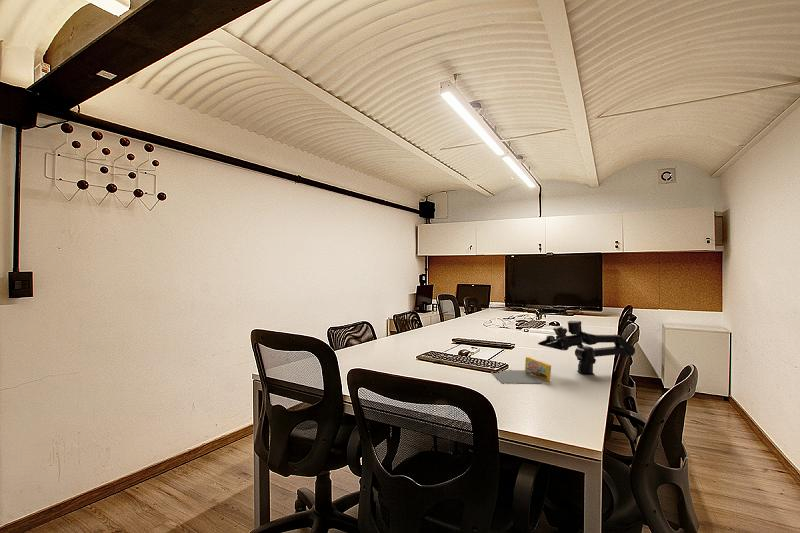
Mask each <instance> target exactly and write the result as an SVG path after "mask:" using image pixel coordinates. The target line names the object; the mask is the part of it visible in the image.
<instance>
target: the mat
mask: <svg viewBox="0 0 800 533" xmlns="http://www.w3.org/2000/svg"><path fill="white" fill-rule="evenodd" d="M502 370H503V371H500V372H499V373H493V372H490V373H491V374H492V375H493V376H494V377H495V379H496V380H497V381H498V380H499V381H500V382H501V383H513V385H519V384H522V385H526V384H529V385H531V384H532V385H534V384H535V385H541V384H542V381H540V380H538V379H537V377H536V376H534V375H531V374H529V373H527V372H525V369H521V370H519V369H502ZM499 381H498V382H499ZM500 382H499V383H500ZM501 383H500V384H501ZM514 383H516V384H514Z"/></svg>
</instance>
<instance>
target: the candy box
mask: <svg viewBox="0 0 800 533" xmlns="http://www.w3.org/2000/svg"><path fill="white" fill-rule="evenodd" d="M524 365H525V366H524V370H525V372H527V373H529V374H531V375H532V376H533V377H535V378H538V379H541V380H543V381H546V382H551V374H552V373H551V372H552V364H549V363H546V362H543V361H541V360H538V359H536V358H532V357H530V356H525V363H524Z"/></svg>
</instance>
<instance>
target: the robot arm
mask: <svg viewBox="0 0 800 533" xmlns="http://www.w3.org/2000/svg"><path fill="white" fill-rule="evenodd" d="M567 326H568V327H567V328H568V329H567V328H564V327H563V326H561V325H557V326H556V327H554V328H553V331H554V333H555V335H556V336H554V335H546V338H545V339H542V340H541V341H538V342H537V344H538V346H539V345H540V346H543V347H546V348H551V349H555V350H558V351H559V350H560V351H568V350H569V349H570V348H572V347H576V346H577V347H576V349H574V354H575V357H576V359H577V360H578V364H577V370H576V371H577V372H578V373H580V374H581V375H590V376H591V375H592V376H593V375H595V373H594V364H595V365H596V362H597V360H596V357H607V356H615V355H617V356H625V357H626V356H627V357H633V356H634V355H635V353H636V348H635V347H634V346H633V345H631V343H629V341H627V340H625V338H624V337H623V336H622V335H619V334H592V333H588V332H585V331H582V321H580V320H569V321H567ZM567 333H569V335H567ZM599 343H603V344H604V343H610V344H611V343H613V345H614V346H608V347H607V346H606V347H597V348H594V347H592V345H596V344H599ZM584 344H585V345H584Z"/></svg>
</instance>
